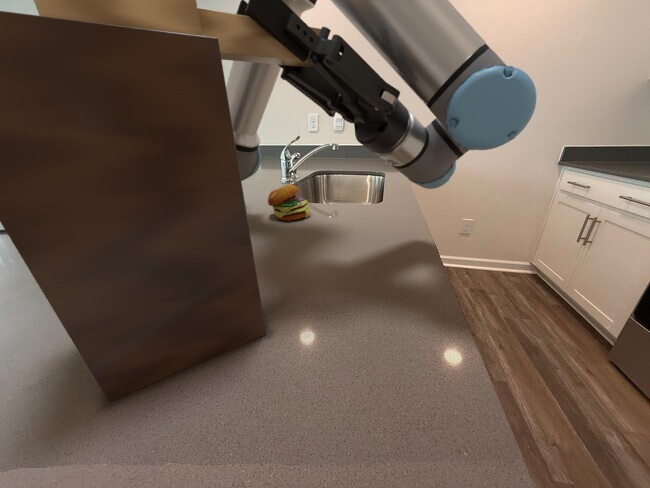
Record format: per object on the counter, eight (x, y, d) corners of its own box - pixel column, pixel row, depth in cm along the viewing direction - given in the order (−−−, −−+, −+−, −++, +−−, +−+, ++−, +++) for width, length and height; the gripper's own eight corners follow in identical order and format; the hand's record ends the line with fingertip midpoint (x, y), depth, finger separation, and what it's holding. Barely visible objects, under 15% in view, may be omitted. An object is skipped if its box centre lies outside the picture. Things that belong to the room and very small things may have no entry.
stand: (108, 402, 25) (-140, -8, 12) (119, 327, 34) (-15, 50, 21) (266, 334, 32) (218, 37, 20) (240, 288, 42) (195, 66, 29)
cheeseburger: (306, 223, 67) (294, 186, 63) (270, 230, 70) (257, 195, 67) (315, 210, 76) (305, 177, 72) (282, 217, 79) (271, 185, 75)
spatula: (40, 17, 15) (12, -54, 14) (78, 56, 24) (63, 14, 22) (342, 55, 26) (343, 16, 24) (294, 72, 34) (292, 44, 33)
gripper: (424, 160, 33) (259, 15, 18) (345, 150, 46) (212, 62, 32) (452, 102, 32) (300, -99, 17) (362, 109, 45) (234, -1, 30)
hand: (243, 5), depth 24 cm, fingers open, 4 cm apart
